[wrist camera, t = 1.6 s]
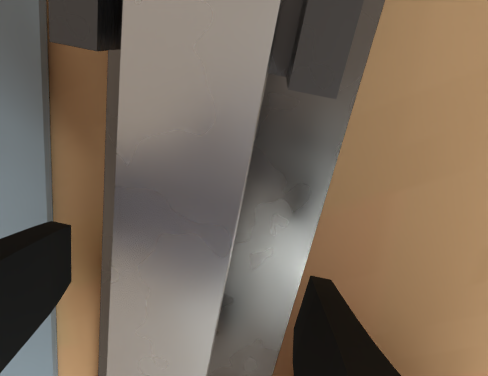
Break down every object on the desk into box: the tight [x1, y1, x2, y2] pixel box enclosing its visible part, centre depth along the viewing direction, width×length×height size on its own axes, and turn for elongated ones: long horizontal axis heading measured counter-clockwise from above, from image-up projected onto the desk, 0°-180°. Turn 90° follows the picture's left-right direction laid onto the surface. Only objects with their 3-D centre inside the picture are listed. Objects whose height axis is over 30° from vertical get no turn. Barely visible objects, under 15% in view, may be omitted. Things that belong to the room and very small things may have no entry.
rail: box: [107, 0, 283, 376], centre depth 9 cm, size 20×2×2 cm, turn 170°
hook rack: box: [48, 0, 385, 376], centre depth 11 cm, size 26×8×7 cm, turn 170°
